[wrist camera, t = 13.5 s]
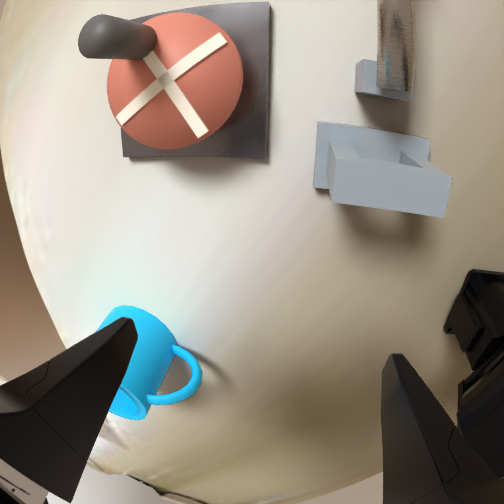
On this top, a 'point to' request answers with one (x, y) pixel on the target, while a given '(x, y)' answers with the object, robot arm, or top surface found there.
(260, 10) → the wheel mount
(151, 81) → the handwheel
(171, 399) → the mug
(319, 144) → the eye bracket
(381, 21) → the hook rod
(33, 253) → the top surface
